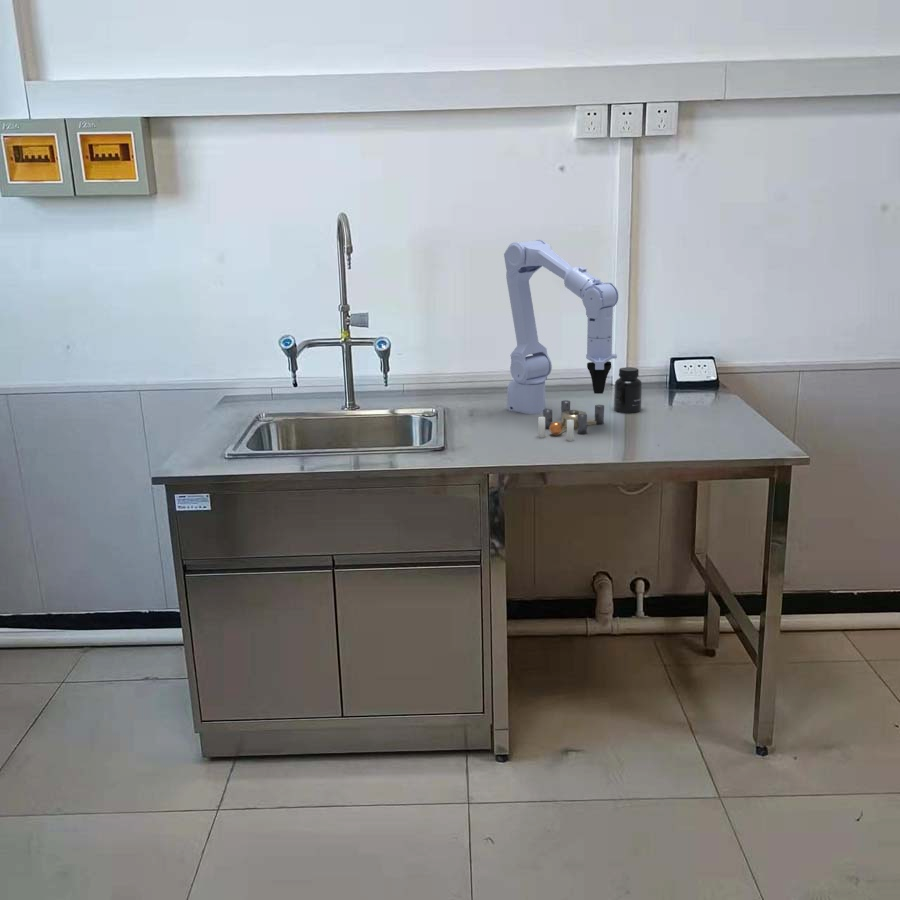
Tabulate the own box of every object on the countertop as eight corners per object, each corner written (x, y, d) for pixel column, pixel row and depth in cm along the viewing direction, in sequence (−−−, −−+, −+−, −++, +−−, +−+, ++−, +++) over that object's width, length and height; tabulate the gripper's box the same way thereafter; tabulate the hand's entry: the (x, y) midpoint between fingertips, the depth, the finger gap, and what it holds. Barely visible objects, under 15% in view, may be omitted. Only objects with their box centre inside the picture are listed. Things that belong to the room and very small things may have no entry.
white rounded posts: (537, 438, 206) (537, 417, 205) (548, 431, 211) (549, 411, 209) (570, 443, 202) (570, 422, 200) (581, 436, 206) (582, 416, 205)
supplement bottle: (641, 418, 223) (642, 372, 219) (613, 418, 224) (614, 371, 220) (640, 411, 229) (642, 366, 225) (614, 410, 230) (615, 365, 227)
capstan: (551, 437, 206) (551, 419, 204) (534, 419, 220) (533, 402, 219) (614, 431, 208) (615, 413, 207) (593, 414, 223) (593, 398, 221)
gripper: (618, 342, 198) (616, 400, 202) (616, 330, 212) (614, 385, 216) (586, 342, 199) (585, 400, 203) (586, 330, 213) (585, 385, 217)
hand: (598, 392), depth 210 cm, fingers closed
